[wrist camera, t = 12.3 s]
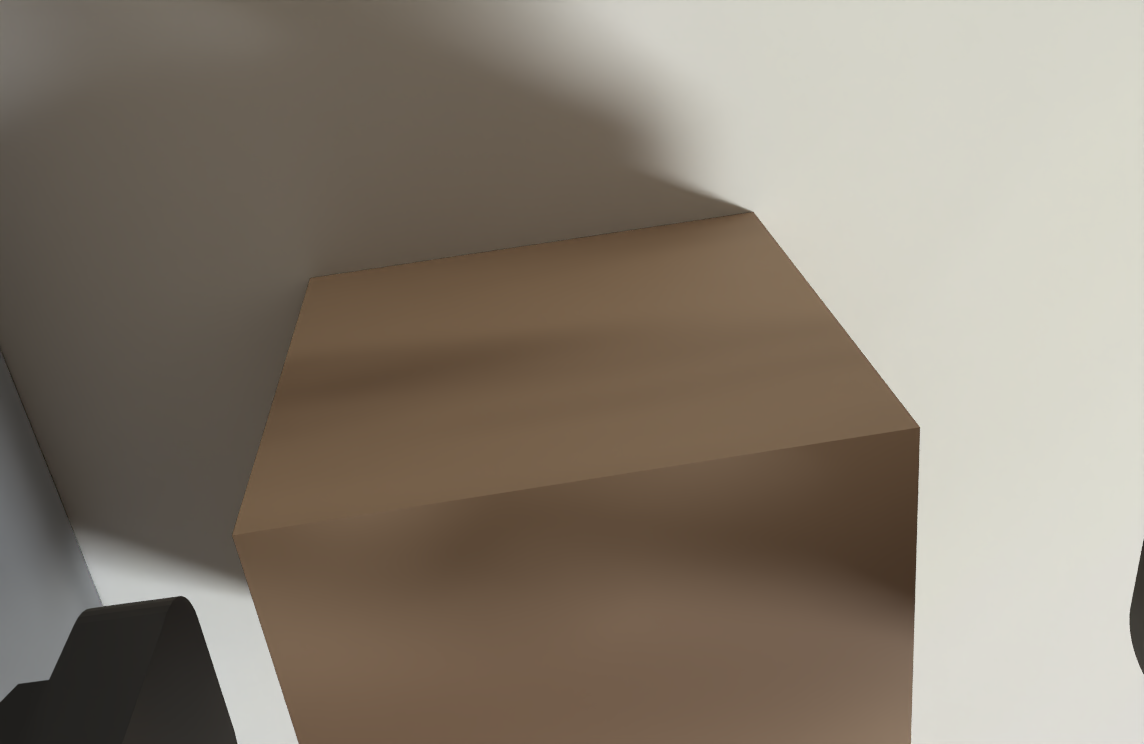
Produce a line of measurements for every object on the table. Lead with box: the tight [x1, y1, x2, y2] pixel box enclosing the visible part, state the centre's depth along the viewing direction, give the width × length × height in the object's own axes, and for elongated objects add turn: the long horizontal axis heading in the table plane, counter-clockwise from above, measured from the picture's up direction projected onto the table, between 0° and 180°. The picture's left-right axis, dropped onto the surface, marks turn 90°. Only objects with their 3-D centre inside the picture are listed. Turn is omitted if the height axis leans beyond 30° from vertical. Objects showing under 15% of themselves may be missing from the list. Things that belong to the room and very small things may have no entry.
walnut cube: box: [232, 212, 920, 744], centre depth 11 cm, size 5×5×5 cm
